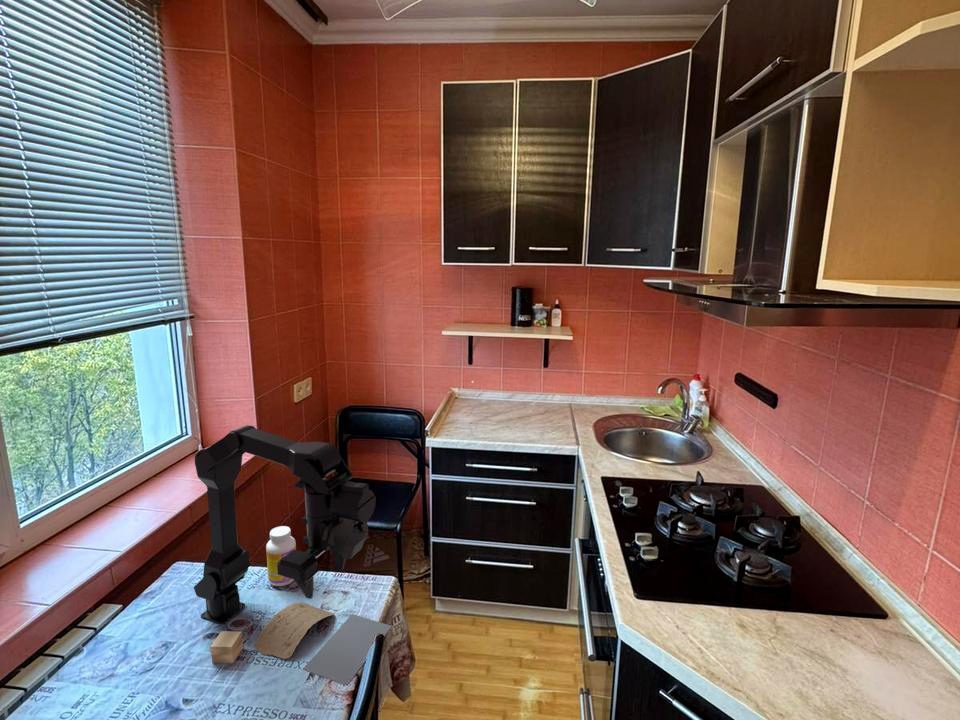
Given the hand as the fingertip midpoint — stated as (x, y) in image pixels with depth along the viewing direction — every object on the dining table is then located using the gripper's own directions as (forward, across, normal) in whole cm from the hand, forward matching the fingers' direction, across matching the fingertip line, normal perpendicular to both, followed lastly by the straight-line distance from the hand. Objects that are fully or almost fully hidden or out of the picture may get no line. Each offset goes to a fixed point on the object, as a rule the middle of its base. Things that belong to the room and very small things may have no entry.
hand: (325, 583), depth 96 cm
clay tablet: (+15, +1, +5) cm, 16 cm away
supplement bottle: (+15, +14, +24) cm, 31 cm away
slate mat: (+14, +2, -4) cm, 15 cm away
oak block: (+15, -9, +17) cm, 24 cm away
